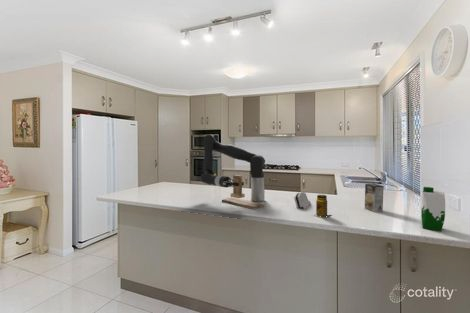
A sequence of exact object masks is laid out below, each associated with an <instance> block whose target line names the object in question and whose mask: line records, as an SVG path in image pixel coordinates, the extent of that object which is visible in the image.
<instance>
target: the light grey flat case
mask: <svg viewBox="0 0 470 313" xmlns="http://www.w3.org/2000/svg"><path fill="white" fill-rule="evenodd" d="M293 198H294V202H295V207H296V209H299V208H303V209H304V208H305V209H306V208H308V207H309V206H310V205H311V204H312V203H311V201H310V199H308V196H307V193H306V192H304V191H301V192H298V193H295V195H294V197H293ZM309 204H310V205H309ZM308 205H309V206H308ZM307 206H308V207H307Z"/></svg>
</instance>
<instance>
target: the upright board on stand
mask: <svg viewBox="0 0 470 313" xmlns="http://www.w3.org/2000/svg"><path fill="white" fill-rule="evenodd" d="M232 177H233V178H232V179H233V182H236V183H239V186H232V188H233V192H232V193H230V198H237V199H241V198H245V195H246V194H245V193H243V186H242V182H243V175H241V174H240V175H239V174H235V175H232Z"/></svg>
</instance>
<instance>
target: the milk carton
mask: <svg viewBox="0 0 470 313" xmlns="http://www.w3.org/2000/svg"><path fill="white" fill-rule="evenodd" d="M422 189H423V190H422V198H421V225H422V229H424V230H430V231H434V232H440V233H441V232H442V231H443V230H442V229H443V227H444V223H445V219H446V196H445V192H443V191H436V190H434V187H431V186H423V188H422Z"/></svg>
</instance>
